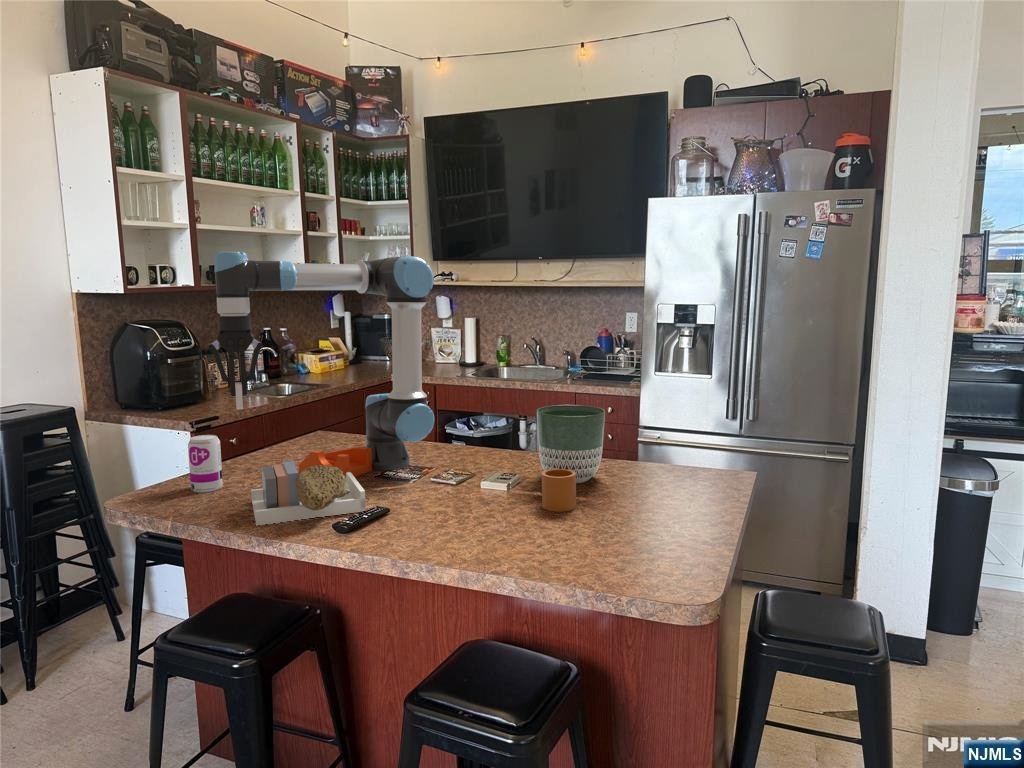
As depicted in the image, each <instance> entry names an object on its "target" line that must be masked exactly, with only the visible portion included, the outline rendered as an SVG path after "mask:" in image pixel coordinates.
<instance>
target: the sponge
mask: <svg viewBox="0 0 1024 768" xmlns="http://www.w3.org/2000/svg"><path fill="white" fill-rule="evenodd" d="M296 490H297V496H298V499H299V500H300V502H301V503H302V505H304V506H305V507H306V508H309V509H311V510H313V511H315V510H321V509H324V508H325V507H327V506H328V505H329V504H331V503H332V502H333V501H334V500H335V499H336V498H342V497H344V496H345V495H346V494H349V492H350V488H349V483H348V481H347V479H346V477H345V476H344V475H343V472H342V471H341V470H340V469H339V468H337V467H329V466H327V465H319V466H310V467H306V468H305V469H304V470H303V471H301V473H300V474H298V477H297V478H296Z"/></svg>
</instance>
